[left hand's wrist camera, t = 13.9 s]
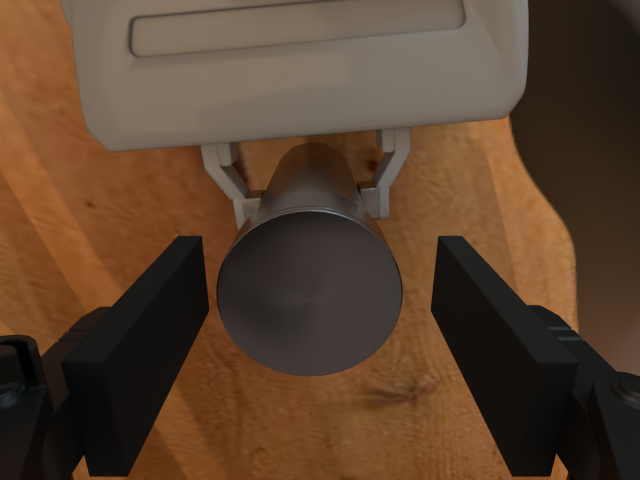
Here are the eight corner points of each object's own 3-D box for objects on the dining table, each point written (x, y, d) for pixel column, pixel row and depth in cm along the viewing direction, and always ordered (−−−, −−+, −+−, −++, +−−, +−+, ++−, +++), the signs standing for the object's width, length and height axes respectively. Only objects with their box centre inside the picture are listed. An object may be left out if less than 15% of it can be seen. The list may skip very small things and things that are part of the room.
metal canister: (358, 164, 14) (367, 180, 11) (409, 306, 15) (425, 343, 13) (203, 224, 14) (182, 250, 12) (270, 354, 16) (262, 397, 14)
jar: (334, 130, 27) (360, 186, 12) (361, 202, 29) (413, 332, 13) (262, 159, 28) (197, 249, 12) (292, 228, 29) (267, 381, 14)
